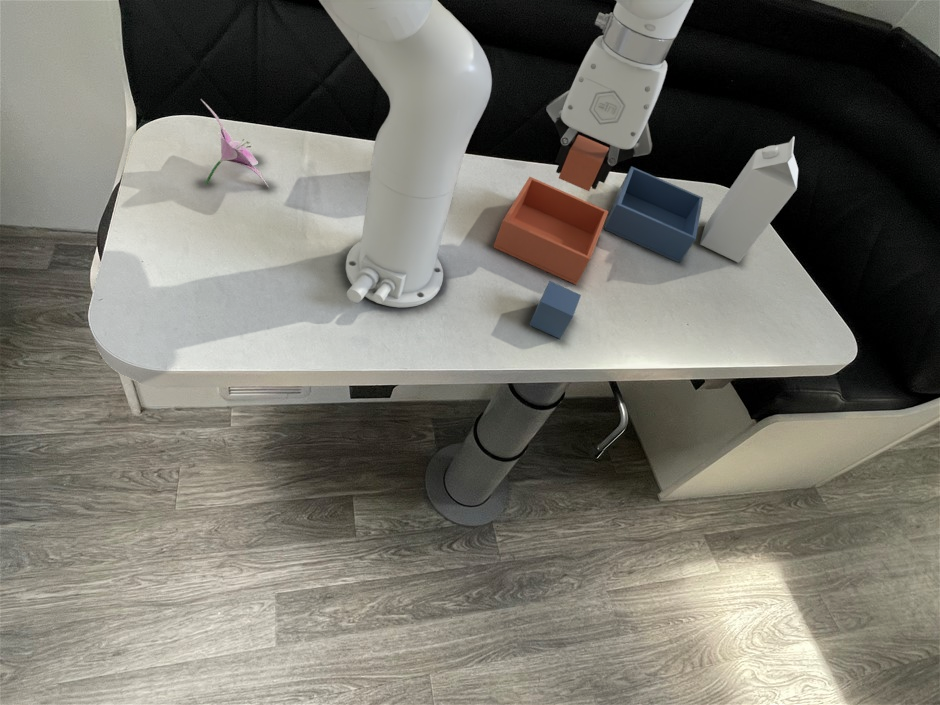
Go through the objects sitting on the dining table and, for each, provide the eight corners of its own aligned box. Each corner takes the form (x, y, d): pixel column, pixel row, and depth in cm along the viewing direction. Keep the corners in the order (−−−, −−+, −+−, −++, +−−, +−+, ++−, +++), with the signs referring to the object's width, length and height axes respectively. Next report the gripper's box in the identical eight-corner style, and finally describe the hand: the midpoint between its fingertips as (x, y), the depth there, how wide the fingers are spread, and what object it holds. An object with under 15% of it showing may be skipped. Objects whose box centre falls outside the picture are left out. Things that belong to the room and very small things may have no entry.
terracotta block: (588, 191, 79) (602, 162, 75) (558, 178, 79) (570, 149, 76) (596, 176, 82) (609, 147, 78) (566, 163, 82) (578, 134, 79)
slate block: (560, 339, 77) (573, 316, 73) (528, 325, 77) (540, 301, 73) (568, 318, 80) (581, 294, 76) (538, 304, 80) (549, 280, 76)
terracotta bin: (576, 285, 84) (590, 259, 81) (493, 247, 85) (502, 220, 81) (595, 236, 93) (608, 211, 89) (519, 202, 94) (529, 176, 90)
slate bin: (679, 262, 94) (695, 239, 90) (603, 229, 95) (616, 204, 91) (688, 220, 103) (703, 197, 99) (618, 190, 104) (631, 166, 100)
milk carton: (742, 242, 103) (816, 146, 89) (738, 264, 98) (815, 166, 84) (704, 224, 103) (772, 126, 89) (698, 245, 99) (768, 145, 85)
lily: (257, 223, 78) (289, 160, 74) (163, 179, 72) (193, 109, 69) (261, 193, 87) (289, 136, 84) (178, 152, 82) (205, 89, 78)
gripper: (560, 21, 65) (513, 164, 78) (703, 81, 64) (630, 215, 77) (576, 3, 70) (529, 140, 83) (709, 58, 68) (639, 187, 82)
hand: (578, 175), depth 80 cm, fingers closed on terracotta block, 4 cm apart
